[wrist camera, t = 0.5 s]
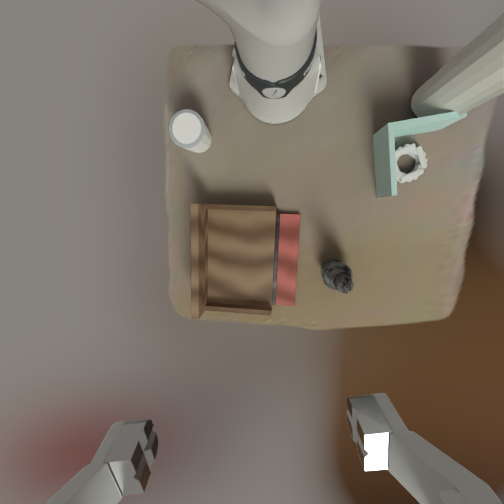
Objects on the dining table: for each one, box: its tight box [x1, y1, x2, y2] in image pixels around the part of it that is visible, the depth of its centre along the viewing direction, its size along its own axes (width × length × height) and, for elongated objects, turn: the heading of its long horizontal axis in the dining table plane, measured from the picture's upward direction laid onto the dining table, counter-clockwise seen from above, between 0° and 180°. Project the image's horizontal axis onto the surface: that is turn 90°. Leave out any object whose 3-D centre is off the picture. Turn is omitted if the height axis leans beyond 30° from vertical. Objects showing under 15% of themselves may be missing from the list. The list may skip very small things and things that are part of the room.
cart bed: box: [190, 203, 300, 319], centre depth 53 cm, size 23×21×8 cm
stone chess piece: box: [322, 260, 353, 293], centre depth 50 cm, size 6×6×12 cm
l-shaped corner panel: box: [373, 111, 467, 198], centre depth 47 cm, size 12×12×8 cm
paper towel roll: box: [411, 13, 504, 118], centre depth 38 cm, size 7×6×21 cm
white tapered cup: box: [169, 109, 212, 153], centre depth 51 cm, size 7×7×7 cm
